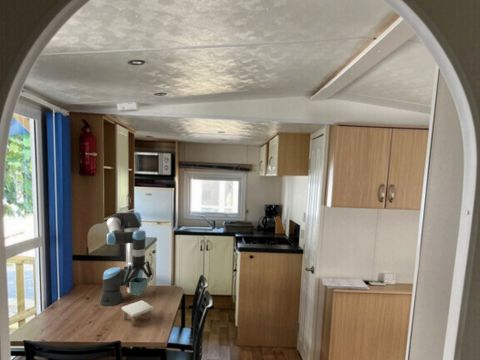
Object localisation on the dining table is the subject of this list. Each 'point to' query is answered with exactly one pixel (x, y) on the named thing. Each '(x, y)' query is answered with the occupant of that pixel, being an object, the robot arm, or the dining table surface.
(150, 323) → the dining table surface
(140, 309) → the footstool
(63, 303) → the dining table surface
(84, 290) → the dining table surface
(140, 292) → the flower pot
